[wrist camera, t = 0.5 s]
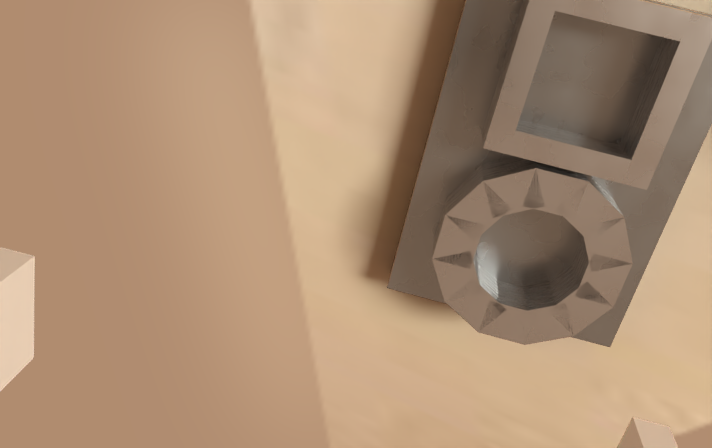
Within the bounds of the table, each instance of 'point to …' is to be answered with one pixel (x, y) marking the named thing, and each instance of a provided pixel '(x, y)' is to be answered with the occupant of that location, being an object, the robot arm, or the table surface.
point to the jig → (555, 162)
